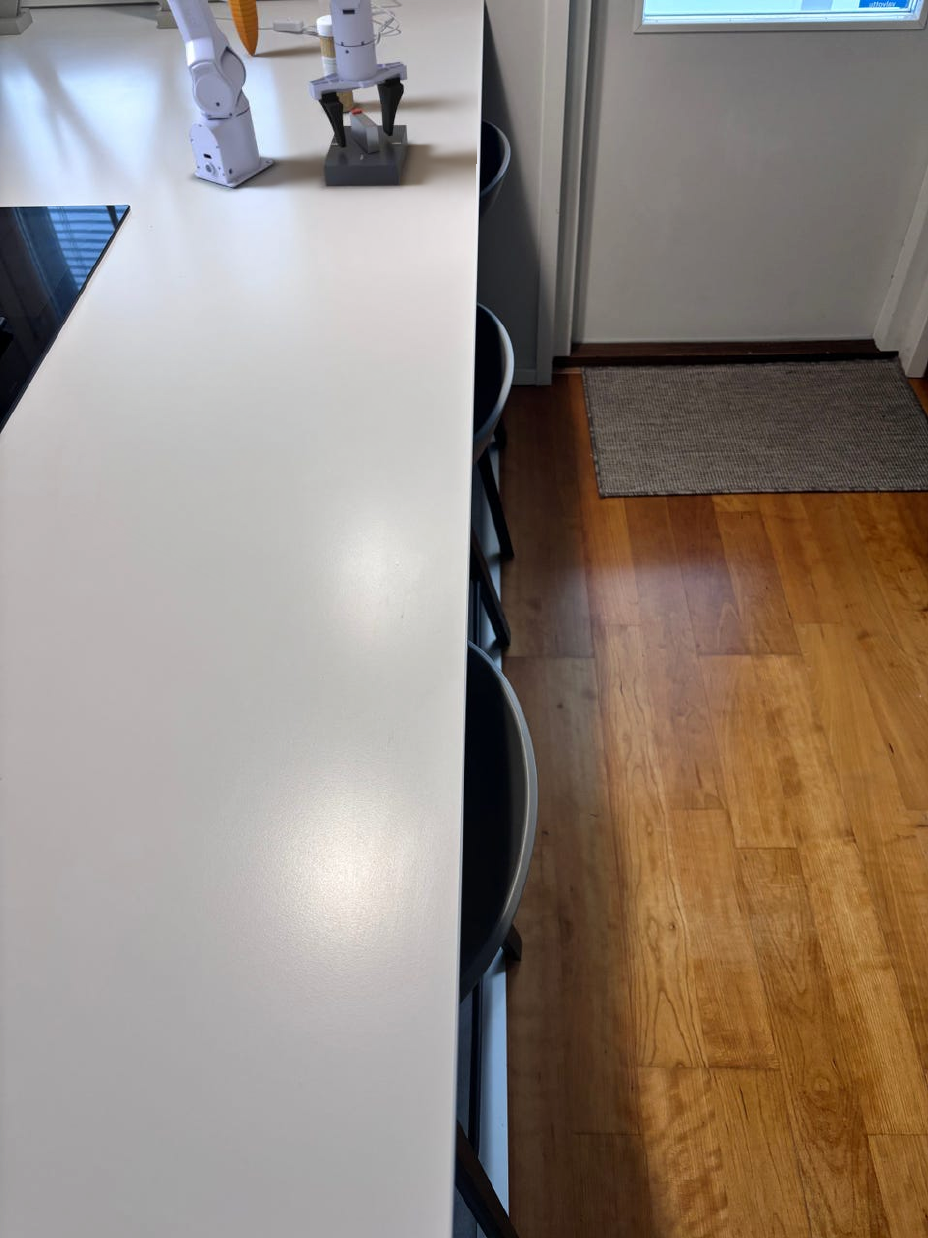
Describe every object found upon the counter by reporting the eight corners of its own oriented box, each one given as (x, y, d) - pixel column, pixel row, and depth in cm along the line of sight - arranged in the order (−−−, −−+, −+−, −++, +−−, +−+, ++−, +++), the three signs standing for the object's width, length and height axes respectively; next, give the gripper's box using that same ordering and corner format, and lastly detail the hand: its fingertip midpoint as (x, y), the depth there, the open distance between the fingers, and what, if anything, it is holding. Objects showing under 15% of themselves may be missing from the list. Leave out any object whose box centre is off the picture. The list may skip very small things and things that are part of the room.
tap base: (398, 185, 142) (396, 163, 139) (326, 185, 143) (322, 164, 140) (407, 144, 151) (406, 123, 148) (339, 144, 152) (336, 124, 149)
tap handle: (380, 150, 143) (377, 122, 140) (369, 153, 142) (365, 125, 139) (362, 134, 147) (359, 107, 143) (352, 137, 146) (348, 109, 143)
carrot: (263, 60, 177) (246, -35, 165) (237, 61, 177) (218, -34, 165) (267, 50, 180) (250, -44, 168) (241, 51, 180) (223, -43, 169)
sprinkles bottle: (360, 107, 161) (350, 17, 151) (339, 115, 159) (328, 25, 149) (343, 100, 163) (332, 11, 153) (322, 108, 161) (310, 18, 151)
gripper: (316, 58, 129) (330, 160, 139) (412, 37, 133) (419, 137, 143) (298, 42, 133) (313, 142, 144) (392, 22, 137) (400, 121, 148)
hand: (365, 139), depth 144 cm, fingers open, 7 cm apart
